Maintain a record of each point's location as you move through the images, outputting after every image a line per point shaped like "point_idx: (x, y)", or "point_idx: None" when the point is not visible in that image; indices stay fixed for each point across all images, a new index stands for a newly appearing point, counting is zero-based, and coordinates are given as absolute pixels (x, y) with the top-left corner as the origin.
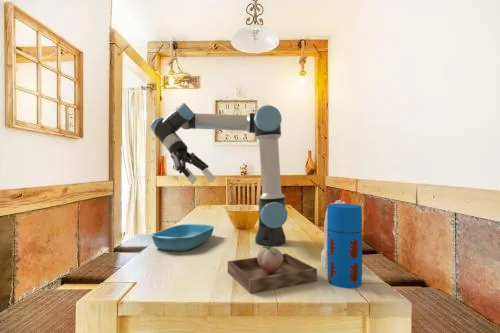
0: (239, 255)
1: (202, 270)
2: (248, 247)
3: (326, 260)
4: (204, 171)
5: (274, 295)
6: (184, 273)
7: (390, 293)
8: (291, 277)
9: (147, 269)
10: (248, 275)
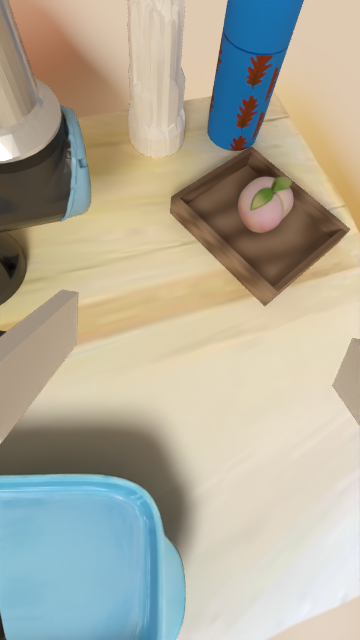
0: (136, 318)
1: (275, 363)
2: None
3: (177, 138)
4: (13, 399)
5: None
6: (309, 394)
7: None
8: None
9: (328, 511)
10: (281, 257)
